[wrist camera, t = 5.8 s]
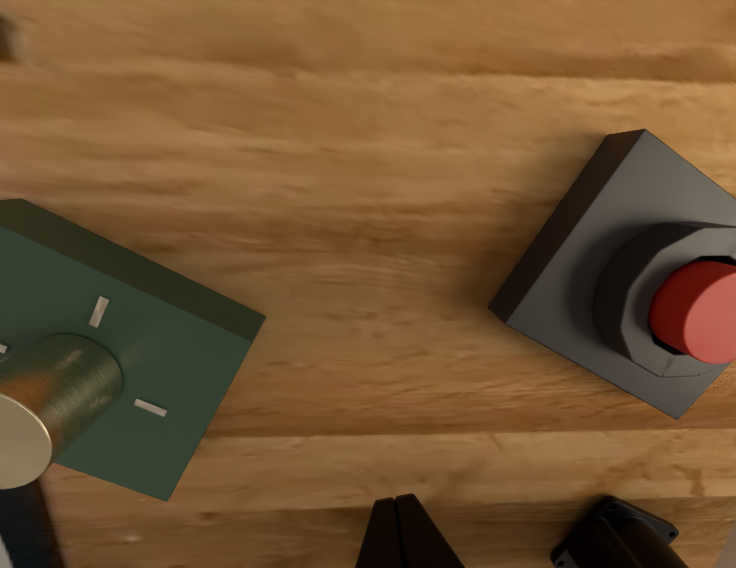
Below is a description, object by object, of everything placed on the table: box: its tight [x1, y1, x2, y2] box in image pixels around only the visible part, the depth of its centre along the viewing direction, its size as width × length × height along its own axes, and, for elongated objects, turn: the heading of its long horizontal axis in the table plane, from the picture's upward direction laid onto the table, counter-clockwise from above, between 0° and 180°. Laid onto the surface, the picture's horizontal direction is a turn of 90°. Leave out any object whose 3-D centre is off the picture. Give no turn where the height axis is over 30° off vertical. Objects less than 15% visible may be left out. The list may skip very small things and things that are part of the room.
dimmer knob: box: [0, 334, 122, 489], centre depth 13 cm, size 4×4×4 cm
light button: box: [648, 261, 736, 364], centre depth 15 cm, size 4×4×2 cm
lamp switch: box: [488, 129, 736, 420], centre depth 17 cm, size 12×10×4 cm
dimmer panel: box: [0, 199, 266, 502], centre depth 17 cm, size 12×10×3 cm
